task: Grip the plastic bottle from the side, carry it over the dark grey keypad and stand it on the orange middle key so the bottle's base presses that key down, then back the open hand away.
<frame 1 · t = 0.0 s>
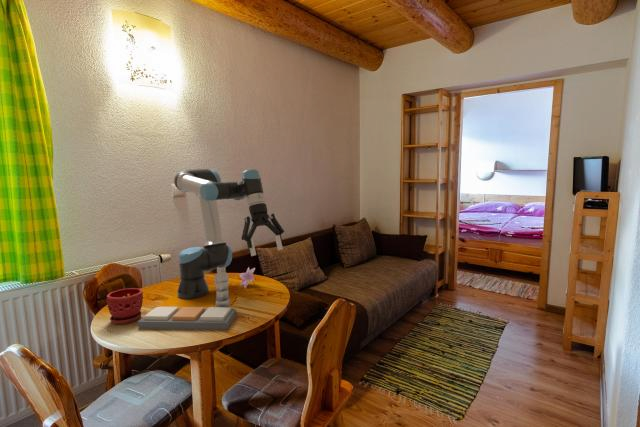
hand: (267, 252, 141), 28 cm above the table, tool tilted 20°, fingers open, 13 cm apart
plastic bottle: (223, 309, 151), on the table
orange key: (188, 313, 138), point 4 cm above the table, slide at 0.0 cm
lily: (247, 285, 183), on the table
plant pot: (127, 319, 142), on the table
pale key 2: (215, 314, 138), point 4 cm above the table, slide at 0.0 cm
pale key 1: (161, 313, 139), point 4 cm above the table, slide at 0.0 cm
keypad frame: (189, 321, 138), on the table
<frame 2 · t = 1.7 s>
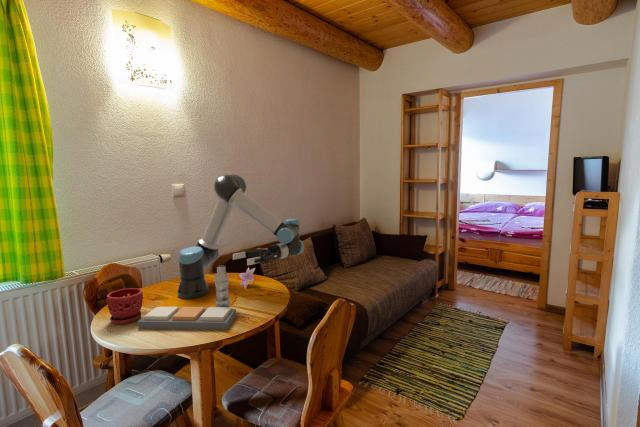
hand: (239, 259, 154), 22 cm above the table, tool horizontal, fingers open, 13 cm apart
nothing on the table moved.
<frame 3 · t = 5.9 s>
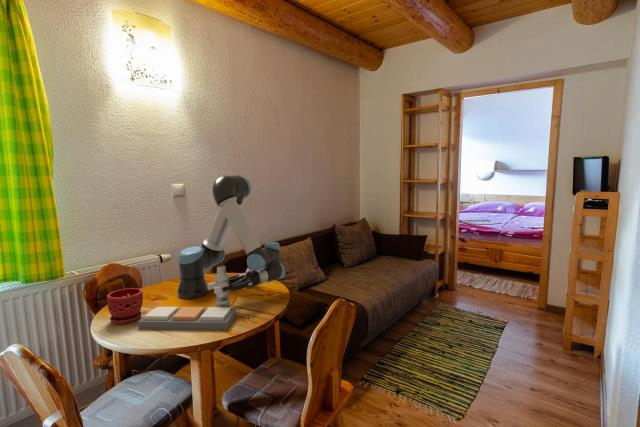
hand: (211, 288, 146), 11 cm above the table, tool horizontal, fingers closed on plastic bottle, 6 cm apart
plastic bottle: (223, 309, 151), on the table, touching gripper
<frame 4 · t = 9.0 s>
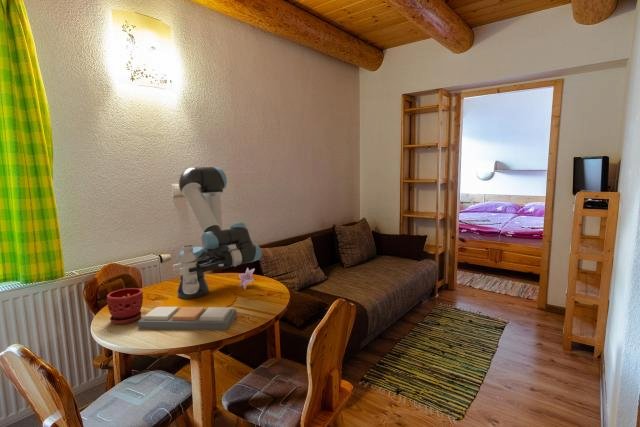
hand: (176, 270, 132), 23 cm above the table, tool horizontal, fingers closed on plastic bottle, 6 cm apart
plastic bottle: (191, 293, 137), point 12 cm above the table, touching gripper
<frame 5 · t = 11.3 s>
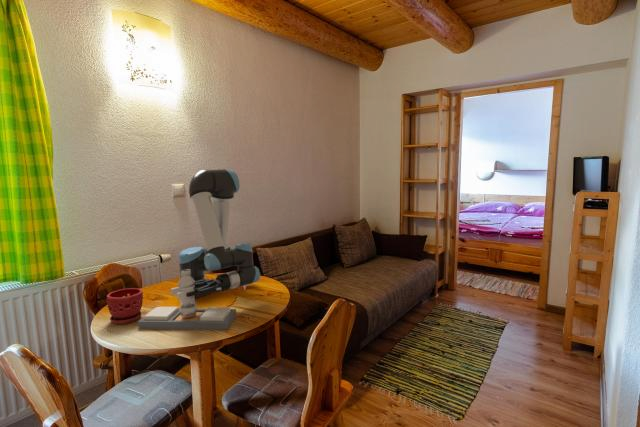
hand: (174, 294, 133), 13 cm above the table, tool horizontal, fingers closed on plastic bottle, 6 cm apart
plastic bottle: (188, 317, 138), point 2 cm above the table, touching gripper, orange key
orange key: (189, 319, 138), point 1 cm above the table, slide at 2.2 cm, touching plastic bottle
when the fingers open (13 cm above the table, at t = 12.2 s): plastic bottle stays where it is, resting on orange key.
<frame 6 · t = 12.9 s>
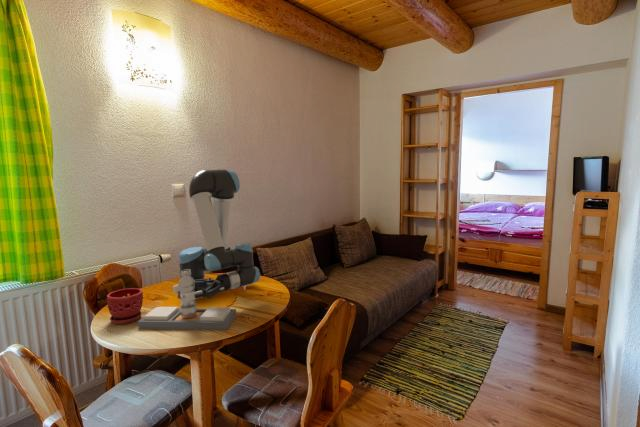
hand: (179, 293, 135), 13 cm above the table, tool horizontal, fingers open, 13 cm apart
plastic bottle: (188, 317, 138), point 2 cm above the table, touching orange key
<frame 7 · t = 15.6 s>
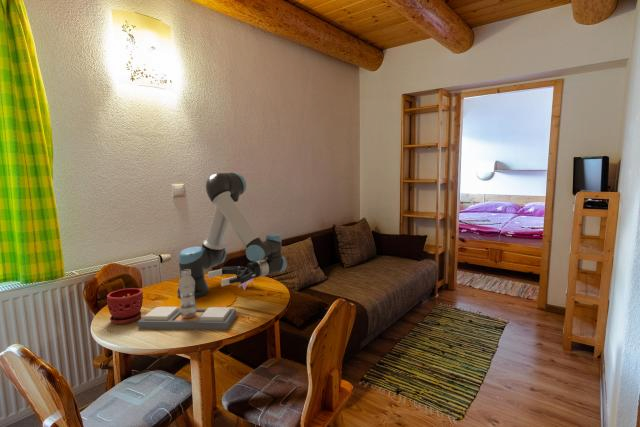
hand: (214, 278, 144), 16 cm above the table, tool horizontal, fingers open, 13 cm apart
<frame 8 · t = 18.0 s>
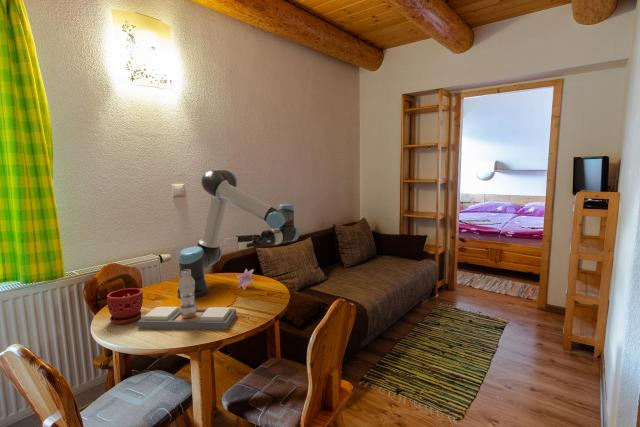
hand: (231, 244, 149), 30 cm above the table, tool horizontal, fingers open, 13 cm apart
at the end: orange key slide at 2.3 cm; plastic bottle 0.0 cm from the target spot, point 2.0 cm above the table; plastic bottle tilted 0° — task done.
